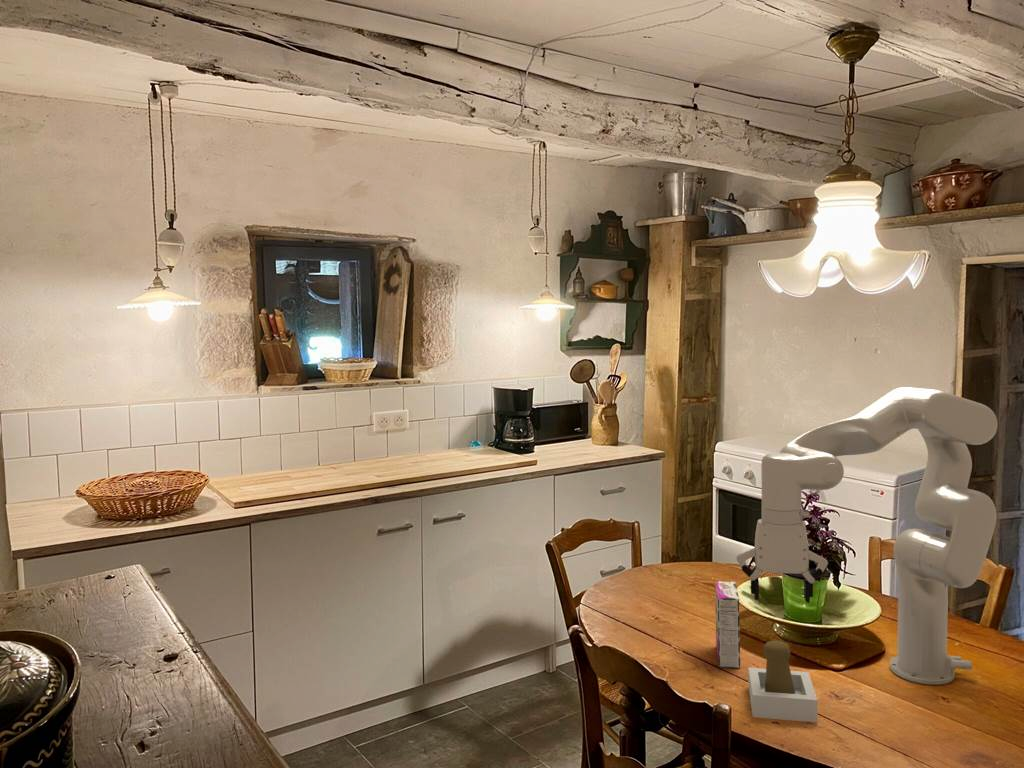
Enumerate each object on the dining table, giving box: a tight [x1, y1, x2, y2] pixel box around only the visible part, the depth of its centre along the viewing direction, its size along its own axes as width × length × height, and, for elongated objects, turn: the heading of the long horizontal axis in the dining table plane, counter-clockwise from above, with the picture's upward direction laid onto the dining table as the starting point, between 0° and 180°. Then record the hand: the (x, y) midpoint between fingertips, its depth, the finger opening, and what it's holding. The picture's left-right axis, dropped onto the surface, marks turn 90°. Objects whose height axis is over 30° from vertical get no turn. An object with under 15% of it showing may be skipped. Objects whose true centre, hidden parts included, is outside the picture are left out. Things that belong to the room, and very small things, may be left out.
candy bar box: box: [714, 580, 741, 669], centre depth 178 cm, size 11×5×16 cm, turn 168°
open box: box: [748, 667, 818, 723], centre depth 157 cm, size 12×12×5 cm
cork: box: [762, 640, 795, 694], centre depth 157 cm, size 6×6×11 cm
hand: (781, 598), depth 155 cm, fingers open, 9 cm apart
